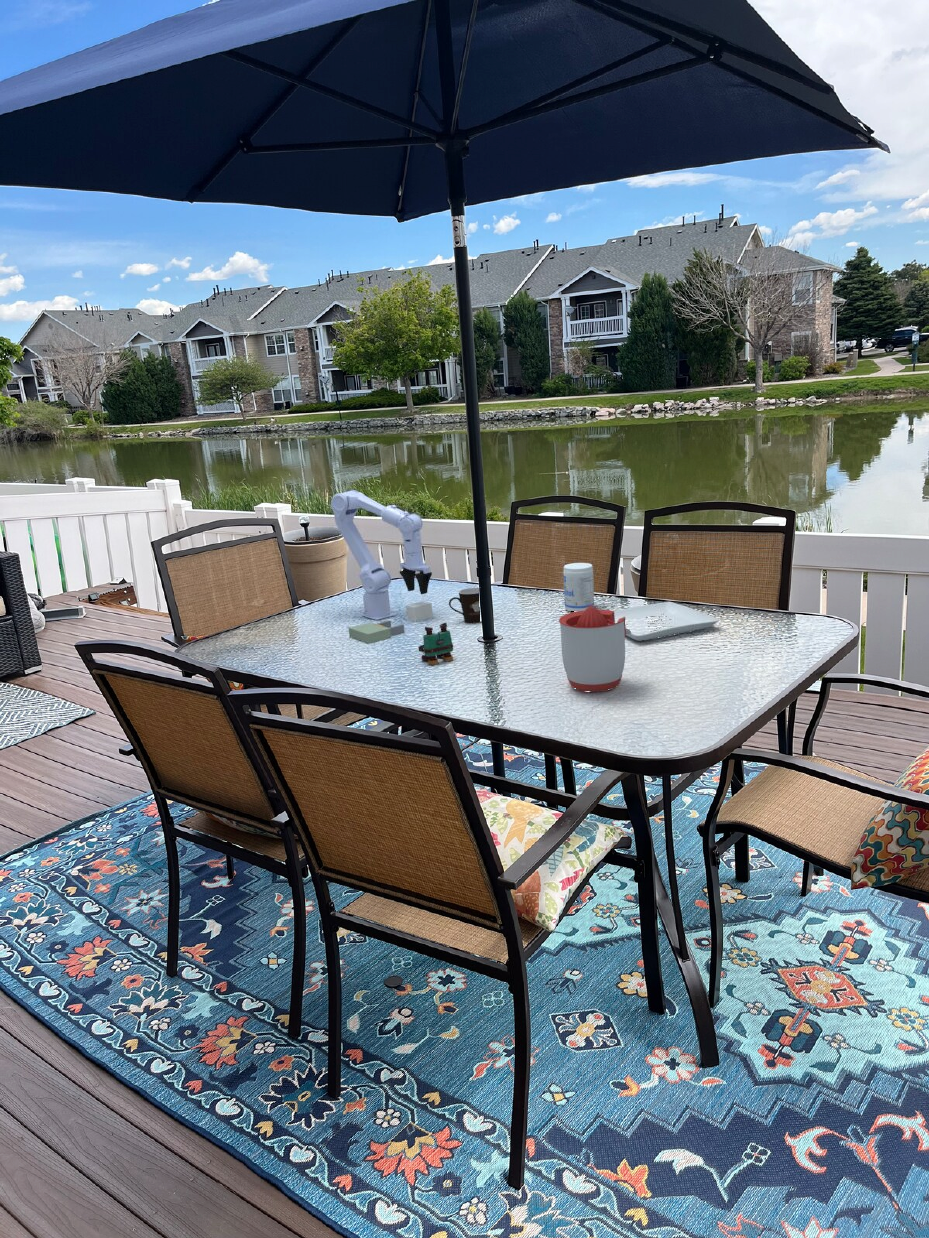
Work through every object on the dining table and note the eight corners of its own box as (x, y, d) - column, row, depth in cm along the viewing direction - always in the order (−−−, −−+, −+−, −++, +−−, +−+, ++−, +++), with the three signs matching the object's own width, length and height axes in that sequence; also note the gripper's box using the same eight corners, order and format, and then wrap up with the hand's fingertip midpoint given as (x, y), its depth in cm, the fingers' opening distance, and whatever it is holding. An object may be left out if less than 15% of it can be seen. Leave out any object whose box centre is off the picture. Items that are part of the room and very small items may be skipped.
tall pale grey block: (407, 619, 279) (405, 605, 278) (424, 615, 283) (423, 601, 282) (415, 622, 275) (414, 607, 274) (432, 617, 279) (431, 603, 278)
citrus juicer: (646, 688, 197) (643, 606, 192) (578, 700, 193) (574, 617, 188) (616, 669, 212) (613, 593, 207) (552, 681, 207) (548, 603, 202)
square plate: (669, 611, 262) (669, 599, 261) (721, 631, 237) (721, 618, 236) (591, 625, 255) (591, 613, 254) (636, 647, 229) (636, 634, 228)
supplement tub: (559, 610, 274) (556, 566, 270) (579, 604, 279) (577, 561, 275) (579, 614, 266) (577, 569, 262) (600, 608, 272) (598, 564, 268)
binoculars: (438, 619, 237) (453, 622, 228) (443, 655, 239) (458, 660, 230) (409, 625, 233) (424, 629, 225) (415, 661, 235) (429, 666, 226)
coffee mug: (488, 616, 274) (486, 587, 271) (486, 623, 265) (484, 593, 263) (453, 618, 275) (450, 589, 272) (450, 625, 267) (447, 595, 264)
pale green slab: (349, 636, 264) (348, 627, 263) (387, 627, 272) (386, 617, 271) (368, 643, 254) (367, 633, 253) (407, 633, 262) (406, 623, 261)
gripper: (436, 551, 270) (439, 592, 273) (411, 547, 281) (415, 587, 285) (417, 555, 266) (422, 596, 269) (393, 551, 277) (398, 591, 281)
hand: (417, 592), depth 277 cm, fingers open, 7 cm apart
